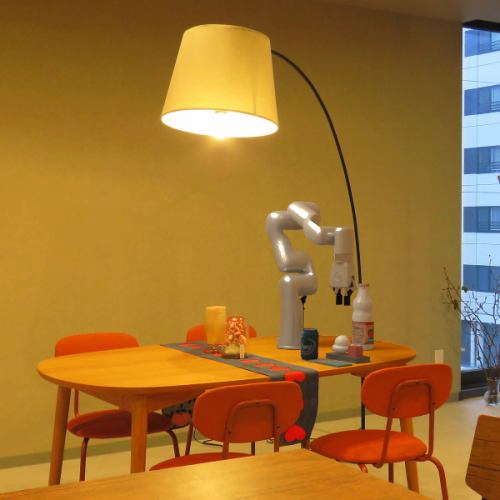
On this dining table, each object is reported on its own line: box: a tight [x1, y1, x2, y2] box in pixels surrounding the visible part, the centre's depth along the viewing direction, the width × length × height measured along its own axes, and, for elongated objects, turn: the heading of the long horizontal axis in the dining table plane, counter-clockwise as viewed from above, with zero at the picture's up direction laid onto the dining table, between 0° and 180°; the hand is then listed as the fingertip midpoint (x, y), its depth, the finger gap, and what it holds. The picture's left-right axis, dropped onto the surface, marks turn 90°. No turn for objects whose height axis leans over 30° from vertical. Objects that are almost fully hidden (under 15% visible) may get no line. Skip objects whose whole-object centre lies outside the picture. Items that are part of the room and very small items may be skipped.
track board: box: [308, 358, 353, 368], centre depth 291 cm, size 15×8×1 cm, turn 39°
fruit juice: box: [351, 283, 375, 351], centre depth 330 cm, size 9×9×28 cm
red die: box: [347, 343, 364, 357], centre depth 297 cm, size 4×4×4 cm
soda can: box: [300, 327, 320, 362], centre depth 300 cm, size 7×7×12 cm
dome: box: [332, 334, 351, 353], centre depth 302 cm, size 8×8×6 cm
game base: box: [325, 351, 371, 364], centre depth 300 cm, size 16×8×2 cm, turn 39°
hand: (343, 304), depth 302 cm, fingers open, 3 cm apart
